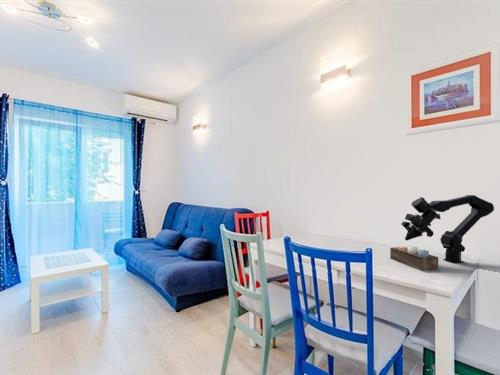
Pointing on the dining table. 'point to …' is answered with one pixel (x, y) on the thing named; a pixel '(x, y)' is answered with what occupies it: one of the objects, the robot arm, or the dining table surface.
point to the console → (414, 259)
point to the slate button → (423, 253)
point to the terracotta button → (402, 248)
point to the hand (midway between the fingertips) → (405, 239)
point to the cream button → (412, 250)
